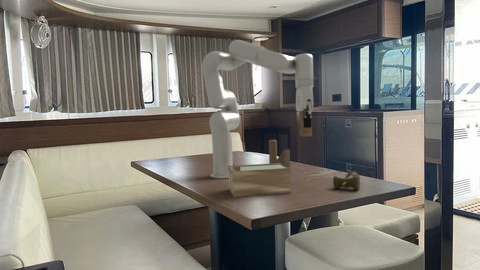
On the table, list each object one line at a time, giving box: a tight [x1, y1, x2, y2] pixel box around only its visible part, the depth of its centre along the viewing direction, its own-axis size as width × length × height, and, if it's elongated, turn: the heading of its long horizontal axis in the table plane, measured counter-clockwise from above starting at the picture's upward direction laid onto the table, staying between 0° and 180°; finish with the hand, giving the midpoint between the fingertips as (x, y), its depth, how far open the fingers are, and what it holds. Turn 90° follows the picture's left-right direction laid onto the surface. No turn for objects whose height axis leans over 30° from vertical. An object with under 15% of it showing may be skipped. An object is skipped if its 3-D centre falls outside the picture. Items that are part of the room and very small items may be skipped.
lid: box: [230, 162, 285, 171], centre depth 144 cm, size 11×21×3 cm, turn 99°
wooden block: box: [268, 139, 291, 169], centre depth 164 cm, size 4×11×18 cm, turn 40°
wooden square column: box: [298, 109, 313, 137], centre depth 156 cm, size 5×5×12 cm
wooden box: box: [228, 163, 292, 198], centre depth 144 cm, size 14×22×10 cm, turn 99°
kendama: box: [332, 170, 361, 192], centre depth 146 cm, size 6×10×20 cm
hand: (305, 126), depth 156 cm, fingers closed on wooden square column, 4 cm apart
